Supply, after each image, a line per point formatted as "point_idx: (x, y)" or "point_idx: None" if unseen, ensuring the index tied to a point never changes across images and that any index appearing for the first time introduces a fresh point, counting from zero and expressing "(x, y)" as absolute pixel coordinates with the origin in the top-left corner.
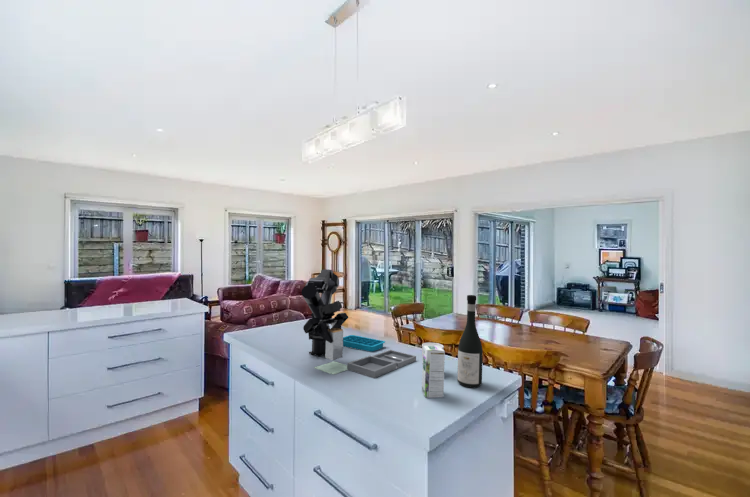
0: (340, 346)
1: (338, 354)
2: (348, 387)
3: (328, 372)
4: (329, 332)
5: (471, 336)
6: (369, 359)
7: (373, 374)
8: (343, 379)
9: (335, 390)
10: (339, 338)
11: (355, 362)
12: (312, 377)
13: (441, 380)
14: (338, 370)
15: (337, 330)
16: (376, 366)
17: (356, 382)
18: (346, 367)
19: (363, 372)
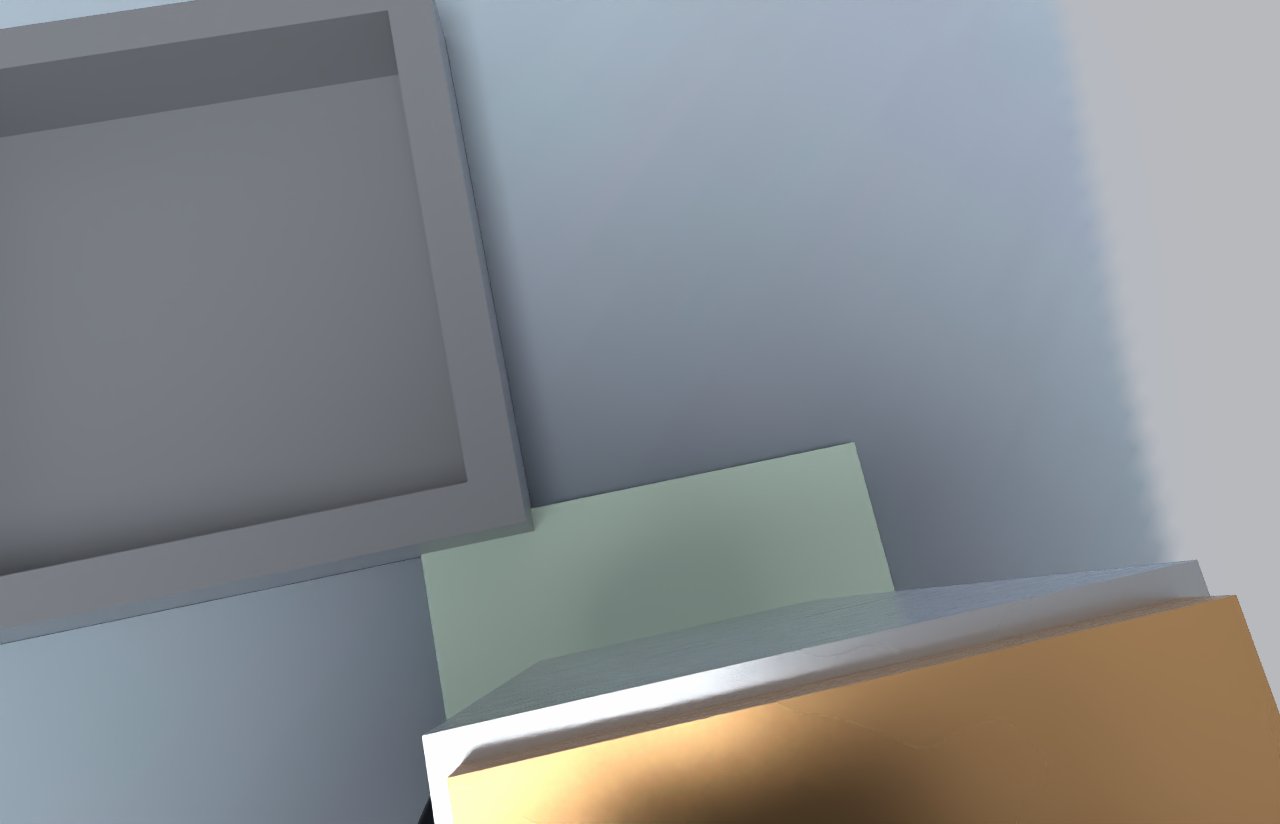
0: (616, 652)
1: (670, 634)
2: (882, 11)
3: (882, 548)
4: None
5: None
6: None
7: (436, 16)
8: (800, 242)
9: (1056, 27)
10: (692, 650)
11: (350, 510)
12: (1146, 551)
13: None
14: (707, 527)
15: (919, 671)
16: (57, 367)
17: (713, 72)
18: (514, 577)
19: (470, 194)
